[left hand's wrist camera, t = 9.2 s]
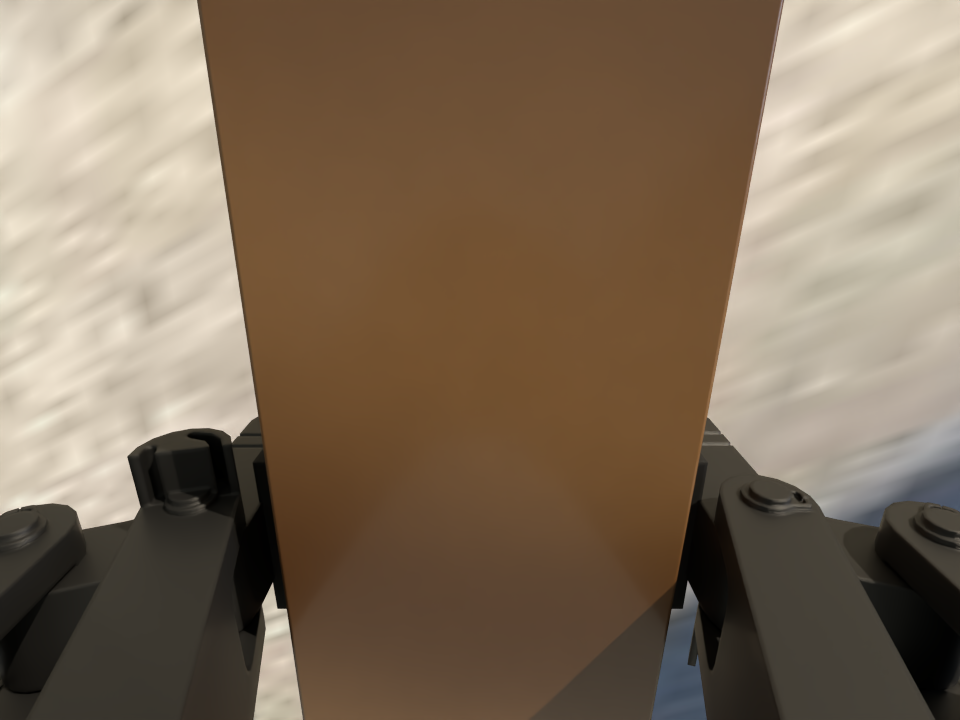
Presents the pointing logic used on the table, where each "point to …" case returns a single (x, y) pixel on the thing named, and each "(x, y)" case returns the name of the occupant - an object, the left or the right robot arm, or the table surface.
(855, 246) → the table surface
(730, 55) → the bar
